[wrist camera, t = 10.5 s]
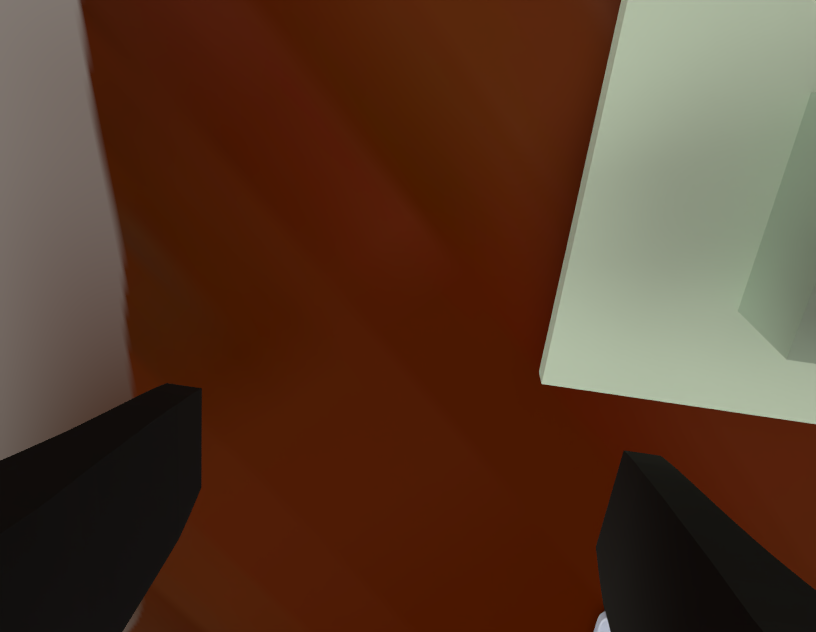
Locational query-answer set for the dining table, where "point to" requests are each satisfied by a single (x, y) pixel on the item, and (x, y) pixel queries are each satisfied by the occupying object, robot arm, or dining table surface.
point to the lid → (697, 214)
